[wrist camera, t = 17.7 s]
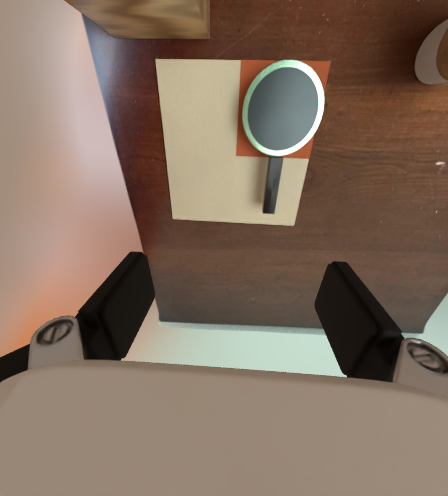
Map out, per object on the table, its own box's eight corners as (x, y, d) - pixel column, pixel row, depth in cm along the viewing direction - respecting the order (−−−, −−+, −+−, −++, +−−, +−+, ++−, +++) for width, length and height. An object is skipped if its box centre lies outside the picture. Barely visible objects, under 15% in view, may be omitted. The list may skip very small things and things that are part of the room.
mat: (173, 217, 37) (172, 219, 37) (156, 60, 26) (154, 58, 26) (293, 224, 36) (294, 226, 36) (329, 62, 25) (331, 61, 24)
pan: (295, 207, 34) (301, 215, 30) (236, 204, 34) (235, 212, 31) (326, 66, 25) (339, 56, 21) (244, 65, 25) (245, 55, 22)
